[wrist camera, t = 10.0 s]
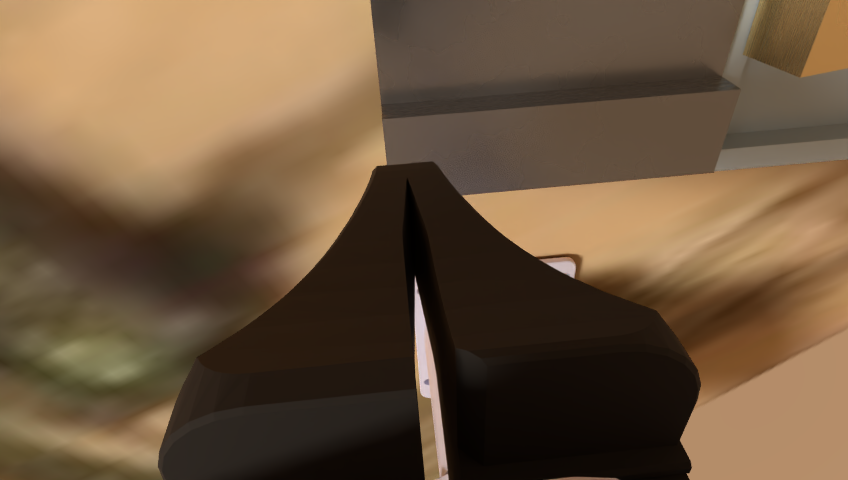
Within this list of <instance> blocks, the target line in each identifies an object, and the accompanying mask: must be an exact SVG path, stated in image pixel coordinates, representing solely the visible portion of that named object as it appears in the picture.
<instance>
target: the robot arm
mask: <svg viewBox="0 0 848 480" xmlns="http://www.w3.org/2000/svg"><path fill="white" fill-rule="evenodd" d="M575 272H576V264H575V262H574V260H573V259H572V258H570V257H560V258H550V259H537V258H536V257H534V256H532V255H531V254H529V253H528V252H526V251H525V250H523V249H522V248H520V247H519V246H517V245H516V244H515V243H513V242H512V241H510V240H509V239H508V238H506V237H505V236H504V235H502V234H501V233H500V232H499V231H498V230H496V229H495V228H494V227H493V226H492V225H491V224H490V223H488V222H487V221H486V220H485V219H484V218H483V217H482V216H481V215H480V214H479V213H478V212H477V211H476V210H475V209H474V208H473V207H472V206H471V205H470V204H469V203H468V202H467V201H466V200H465V199H464V198H463V197H462V196H461V194H460V193H459V192H458V191H457V190H456V189H455V187H454V186H453V185H452V184H451V183H450V181H449V180H448V179H447V178H446V176H445V175H444V174H443V172H442V171H441V169H440V168H439V166H438V165H437V164H436V163H434V162H433V161H430V162H419V163H407V164H396V165H385V166H377V167H376V168H375V169H374V170H373V171H372V175H371V178H370V181H369V183H368V186H367V188H366V190H365V192H364V194H363V196H362V198H361V200H360V202H359V204H358V206H357V207H356V209H355V211H354V213H353V215H352V216H351V218H350V220H349V221H348V223H347V224H346V226H345V227H344V229H343V230H342V232H341V233H340V235H339V236H338V238H337V239H336V241H335V242H334V243H333V245H332V246H331V247H330V249H329V250H328V251H327V252H326V254H325V255H324V256H323V257H322V258H321V260H320V261H319V262H318V263H317V264H316V265H315V267H314V268H313V269H312V270H311V271H310V272H309V273H308V274H307V275H306V276H305V277H304V278H303V279H302V280H301V281H300V282H299V283H298V284H297V285H296V286H295V287H294V288H293V289H292V290H291V291H290V292H289V293H288V294H287V295H285V296H284V297H283V298H282V299H281V300H280V301H278V302H277V303H276V304H275V305H273V306H272V307H271V308H270V309H269V310H267V311H266V312H265V313H263V314H262V315H261V316H259V317H258V318H257V319H255V320H254V321H253V322H251V323H250V324H248V325H247V326H246V327H244V328H243V329H241V330H240V331H238V332H237V333H235V334H233V335H232V336H230V337H229V338H227V339H226V340H224V341H222V342H221V343H219V344H218V345H216V346H215V347H213V348H212V349H210V350H208V351H207V352H205V353H203V354H202V355H200V356H198V357H197V358H196V359H195V362H194V364H193V366H192V368H191V370H190V373H189V375H188V376H187V378H186V380H185V382H184V384H183V386H182V389H181V391H180V393H179V396H178V398H177V400H176V403H175V406H174V409H173V412H172V415H171V418H170V421H169V424H168V427H167V430H166V433H165V436H164V439H163V442H162V445H161V448H160V451H159V460H158V468H159V470H160V473H161V475H162V478H163V480H425V476H424V465H423V454H422V443H421V433H420V422H419V411H418V400H417V389H416V379H415V357H414V355H415V334H416V345H417V357H418V368H419V380H420V391H421V395H422V396H424V397H427V398H431V404H432V412H433V421H434V429H435V438H436V447H437V455H438V464H439V472H440V478H437V479H434V480H689V478H688V476H687V474H686V473H690V470H691V468H692V467H691V461H690V459H689V457H688V455H687V453H686V452H685V450H684V448H683V446H682V444H681V442H680V438H681V436H682V434H683V431H684V429H685V427H686V425H687V422H688V420H689V418H690V416H691V413H692V411H693V409H694V406H695V404H696V402H697V399H698V395H699V391H700V387H701V382H700V378H699V374H698V370H697V368H696V367H695V365H694V363H693V362H692V360H691V358H690V357H689V355H688V354H687V352H686V350H685V349H684V347H683V346H682V344H681V343H680V341H679V340H678V338H677V337H676V335H675V334H674V332H673V331H672V330H671V329H670V327H669V326H668V325H667V324H666V322H665V321H664V320H663V319H662V317H661V316H660V314H659V313H658V312H657V311H656V310H653V309H650V308H647V307H645V306H642V305H639V304H636V303H633V302H631V301H628V300H625V299H622V298H619V297H617V296H614V295H611V294H608V293H606V292H603V291H601V290H599V289H596V288H594V287H592V286H590V285H588V284H585V283H583V282H581V281H579V280H576V279H574V278H575ZM565 273H567V274H565Z"/></svg>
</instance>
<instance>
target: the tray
mask: <svg viewBox="0 0 848 480" xmlns="http://www.w3.org/2000/svg"><path fill="white" fill-rule="evenodd" d="M759 1H760V0H745V2H744V5H743V9H742V12H741V15H740V18H739V22H738V25H737V28H736V32H735V35H734V38H733V42H732V45H731V48H730V52H729V55H728V58H727V62H726V65H725V68H724V72H723V75H722V77H724V78H725V79H727V80H728V81H730V82H731V83H733V84H734V85H736V86H737V87H739V88H740V89H741V92H740V95H739V98H738V101H737V104H736V107H735V110H734V113H733V116H732V119H731V122H730V125H729V128H728V131H727V134H726V137H725V140H724V143H723V146H722V149H721V152H720V155H719V158H718V161H717V164H716V167H715V170H714V171H725V170H736V169H747V168H758V167H770V166H781V165H792V164H803V163H814V162H825V161H836V160H847V159H848V68H847V69H842V70H837V71H832V72H827V73H822V74H817V75H812V76H806V77H801V78H800V77H797V76H795V75H792V74H790V73H787V72H785V71H782V70H780V69H777V68H775V67H772V66H770V65H767V64H765V63H762V62H760V61H757V60H755V59H752V58H750V57H747V56H745V55H743V52H744V48H745V45H746V42H747V39H748V36H749V33H750V29H751V26H752V23H753V20H754V17H755V14H756V10H757V7H758V4H759Z"/></svg>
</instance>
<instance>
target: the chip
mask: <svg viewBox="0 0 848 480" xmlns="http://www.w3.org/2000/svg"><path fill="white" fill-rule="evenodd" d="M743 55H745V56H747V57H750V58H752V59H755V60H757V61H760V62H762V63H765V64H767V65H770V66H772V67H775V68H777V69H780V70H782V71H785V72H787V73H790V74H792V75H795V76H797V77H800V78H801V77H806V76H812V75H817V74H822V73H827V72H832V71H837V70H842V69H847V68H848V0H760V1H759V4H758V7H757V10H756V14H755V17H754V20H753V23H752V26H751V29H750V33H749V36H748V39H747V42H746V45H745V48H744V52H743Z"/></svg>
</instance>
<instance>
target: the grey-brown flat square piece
mask: <svg viewBox="0 0 848 480" xmlns="http://www.w3.org/2000/svg"><path fill="white" fill-rule="evenodd" d="M744 2H745V0H371V10H372V19H373V29H374V38H375V48H376V58H377V67H378V77H379V86H380V96H381V106H382V121H383V131H384V140H385V150H386V159H387V165H396V164H407V163H419V162H430V161H433V162H434V163H436V164H437V165H438V166H439V168H440V169H441V171H442V172H443V174H444V175H445V176H446V178H447V179H448V180H449V181H450V183H451V184H452V185H453V186H454V187H455V189H456V190H457V191H458V192H459V193H460V194H461V195H470V194H481V193H492V192H503V191H514V190H526V189H537V188H548V187H559V186H570V185H581V184H592V183H603V182H614V181H625V180H637V179H648V178H659V177H670V176H681V175H692V174H703V173H714V170H715V167H716V164H717V161H718V158H719V155H720V152H721V149H722V146H723V143H724V140H725V137H726V134H727V131H728V128H729V125H730V122H731V119H732V116H733V113H734V110H735V107H736V104H737V101H738V98H739V95H740V92H741V89H740V88H739V87H737V86H736V85H734V84H733V83H731V82H730V81H728V80H727V79H725V78H724V77H722V75H723V72H724V68H725V65H726V62H727V58H728V55H729V52H730V48H731V45H732V42H733V38H734V35H735V32H736V28H737V25H738V22H739V18H740V15H741V12H742V9H743V5H744Z"/></svg>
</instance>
